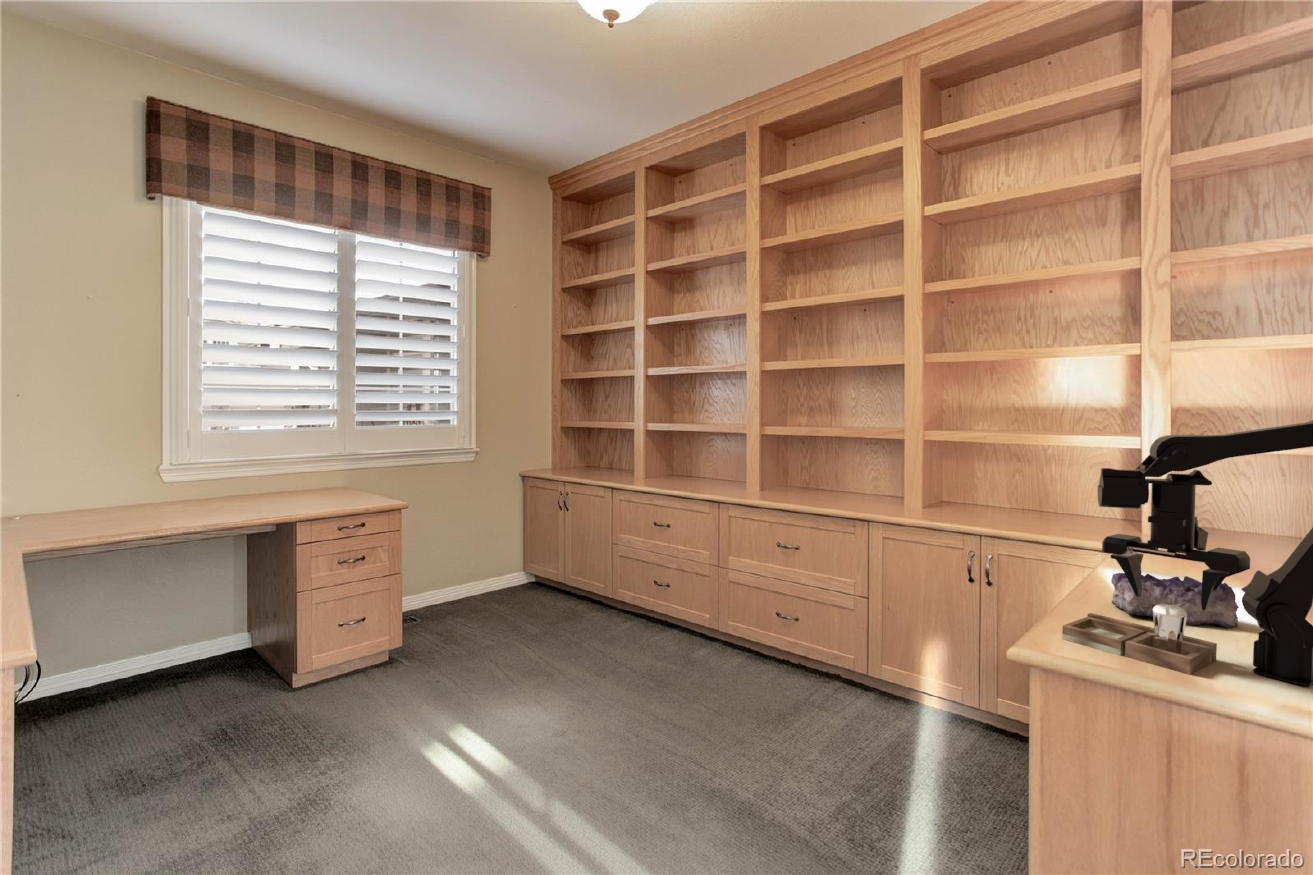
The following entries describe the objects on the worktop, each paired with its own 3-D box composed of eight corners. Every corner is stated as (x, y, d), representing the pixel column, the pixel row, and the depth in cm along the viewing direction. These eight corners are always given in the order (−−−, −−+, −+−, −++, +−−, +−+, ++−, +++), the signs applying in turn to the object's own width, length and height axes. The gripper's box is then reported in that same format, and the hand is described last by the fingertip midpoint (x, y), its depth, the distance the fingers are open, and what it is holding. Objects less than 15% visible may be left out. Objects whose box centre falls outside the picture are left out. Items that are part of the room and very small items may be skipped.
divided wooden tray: (1216, 661, 108) (1216, 643, 108) (1190, 675, 102) (1190, 656, 102) (1090, 628, 124) (1090, 612, 124) (1061, 638, 118) (1062, 622, 118)
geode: (1228, 617, 131) (1234, 570, 129) (1244, 642, 121) (1250, 592, 120) (1107, 598, 141) (1111, 555, 139) (1112, 620, 131) (1117, 574, 130)
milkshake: (1148, 660, 108) (1150, 601, 108) (1153, 651, 112) (1155, 594, 112) (1182, 667, 105) (1184, 607, 105) (1187, 658, 109) (1189, 600, 108)
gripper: (1263, 513, 104) (1260, 609, 104) (1130, 500, 120) (1128, 583, 120) (1238, 520, 98) (1235, 621, 99) (1101, 505, 114) (1099, 592, 114)
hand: (1170, 602), depth 108 cm, fingers open, 9 cm apart
